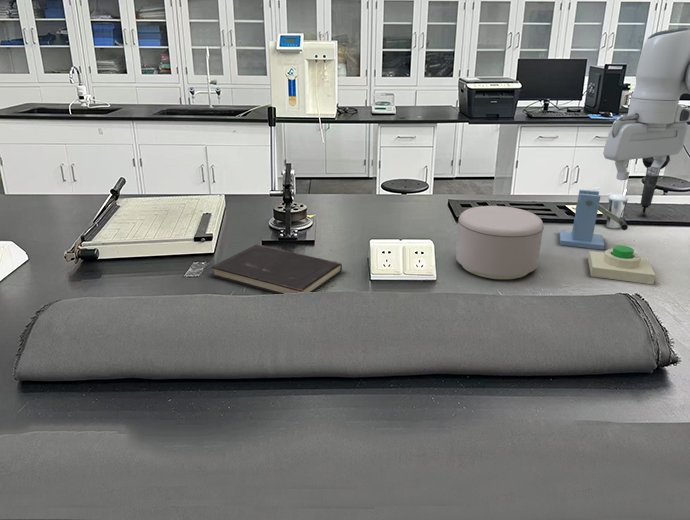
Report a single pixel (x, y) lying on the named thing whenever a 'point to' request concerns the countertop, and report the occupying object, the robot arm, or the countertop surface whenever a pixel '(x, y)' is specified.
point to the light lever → (613, 216)
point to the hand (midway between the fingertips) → (637, 177)
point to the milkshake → (616, 208)
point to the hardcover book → (277, 270)
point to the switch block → (620, 267)
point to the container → (498, 241)
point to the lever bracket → (584, 223)
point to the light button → (623, 252)
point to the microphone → (650, 183)
